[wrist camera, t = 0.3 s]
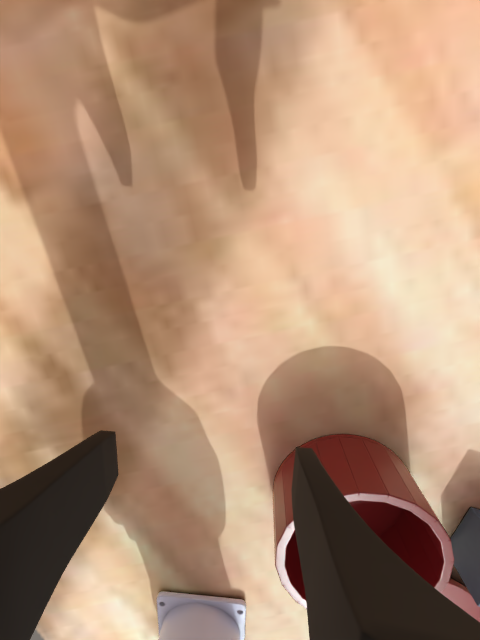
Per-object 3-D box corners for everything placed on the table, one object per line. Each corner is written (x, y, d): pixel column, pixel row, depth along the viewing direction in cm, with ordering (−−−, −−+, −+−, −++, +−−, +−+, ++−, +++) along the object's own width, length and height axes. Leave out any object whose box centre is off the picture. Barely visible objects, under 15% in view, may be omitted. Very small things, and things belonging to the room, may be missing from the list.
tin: (399, 550, 25) (435, 633, 19) (270, 539, 25) (271, 616, 20) (422, 438, 22) (471, 500, 17) (276, 429, 23) (280, 486, 17)
